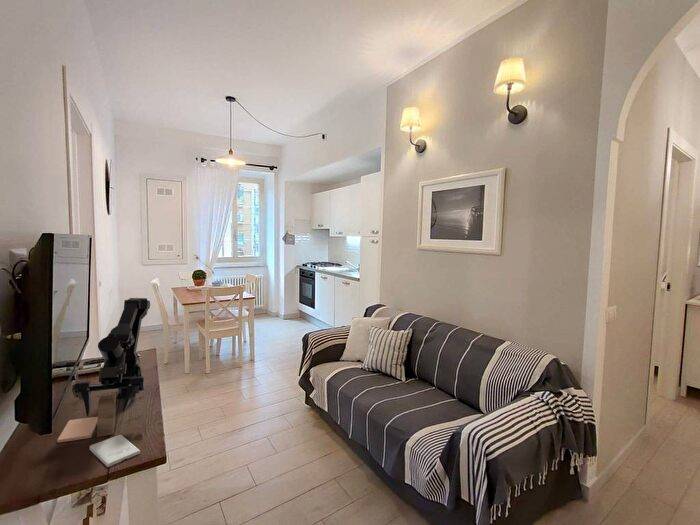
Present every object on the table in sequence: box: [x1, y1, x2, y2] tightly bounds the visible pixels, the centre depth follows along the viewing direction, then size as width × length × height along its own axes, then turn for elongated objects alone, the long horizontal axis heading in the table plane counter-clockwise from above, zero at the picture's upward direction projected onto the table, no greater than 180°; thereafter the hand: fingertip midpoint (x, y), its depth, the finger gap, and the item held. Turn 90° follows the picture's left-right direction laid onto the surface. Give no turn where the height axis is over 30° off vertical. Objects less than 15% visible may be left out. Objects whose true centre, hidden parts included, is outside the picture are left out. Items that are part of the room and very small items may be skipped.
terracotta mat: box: [56, 416, 98, 444], centre depth 107 cm, size 12×8×1 cm, turn 26°
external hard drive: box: [89, 434, 141, 468], centre depth 98 cm, size 2×8×12 cm
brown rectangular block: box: [96, 394, 117, 438], centre depth 106 cm, size 4×4×11 cm
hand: (106, 413), depth 105 cm, fingers open, 9 cm apart
